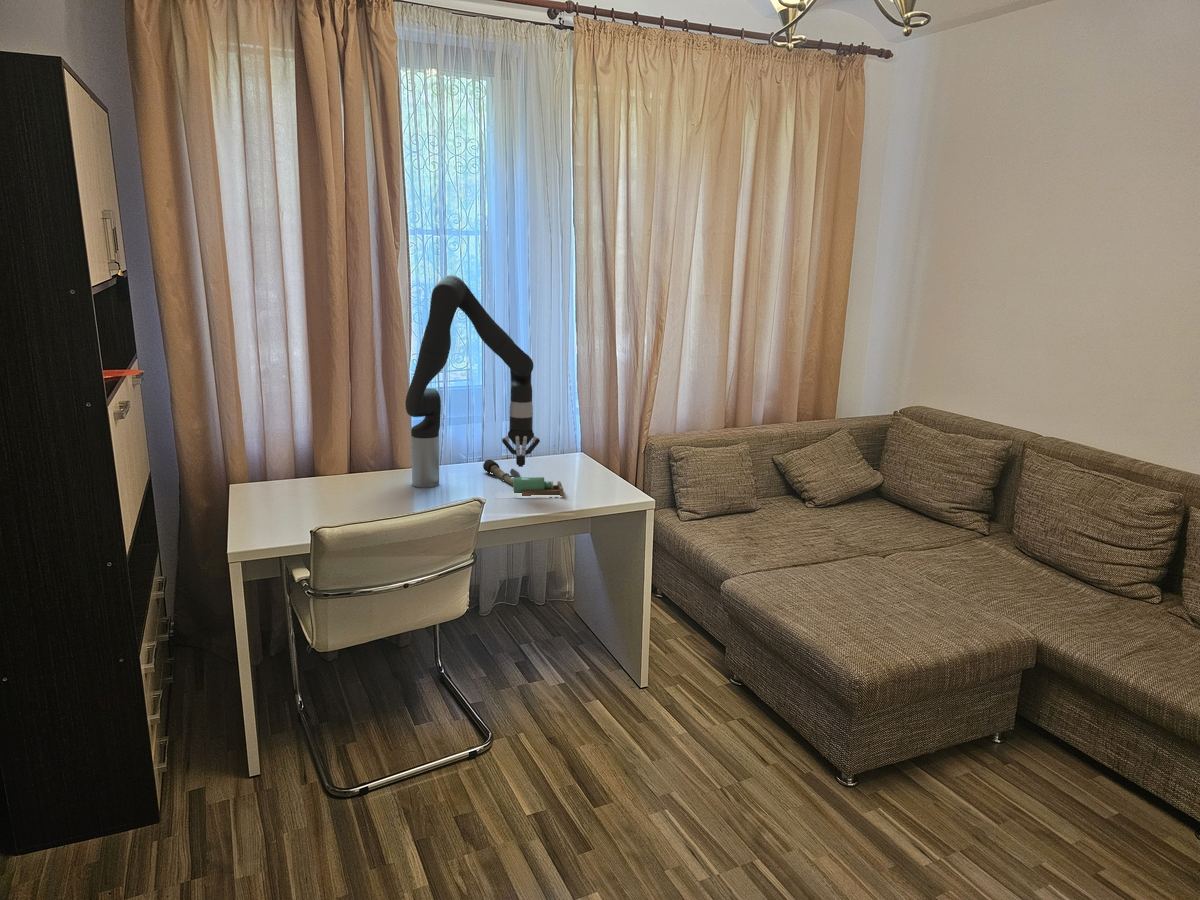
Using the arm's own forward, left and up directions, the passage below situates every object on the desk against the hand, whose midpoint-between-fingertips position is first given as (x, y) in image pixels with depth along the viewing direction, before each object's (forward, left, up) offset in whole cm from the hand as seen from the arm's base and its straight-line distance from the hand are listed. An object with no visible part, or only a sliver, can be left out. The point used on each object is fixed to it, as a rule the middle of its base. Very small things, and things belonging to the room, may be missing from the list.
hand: (520, 466), depth 270 cm
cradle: (0, +2, -11) cm, 11 cm away
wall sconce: (-18, -4, -10) cm, 21 cm away
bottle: (0, -2, -7) cm, 7 cm away
